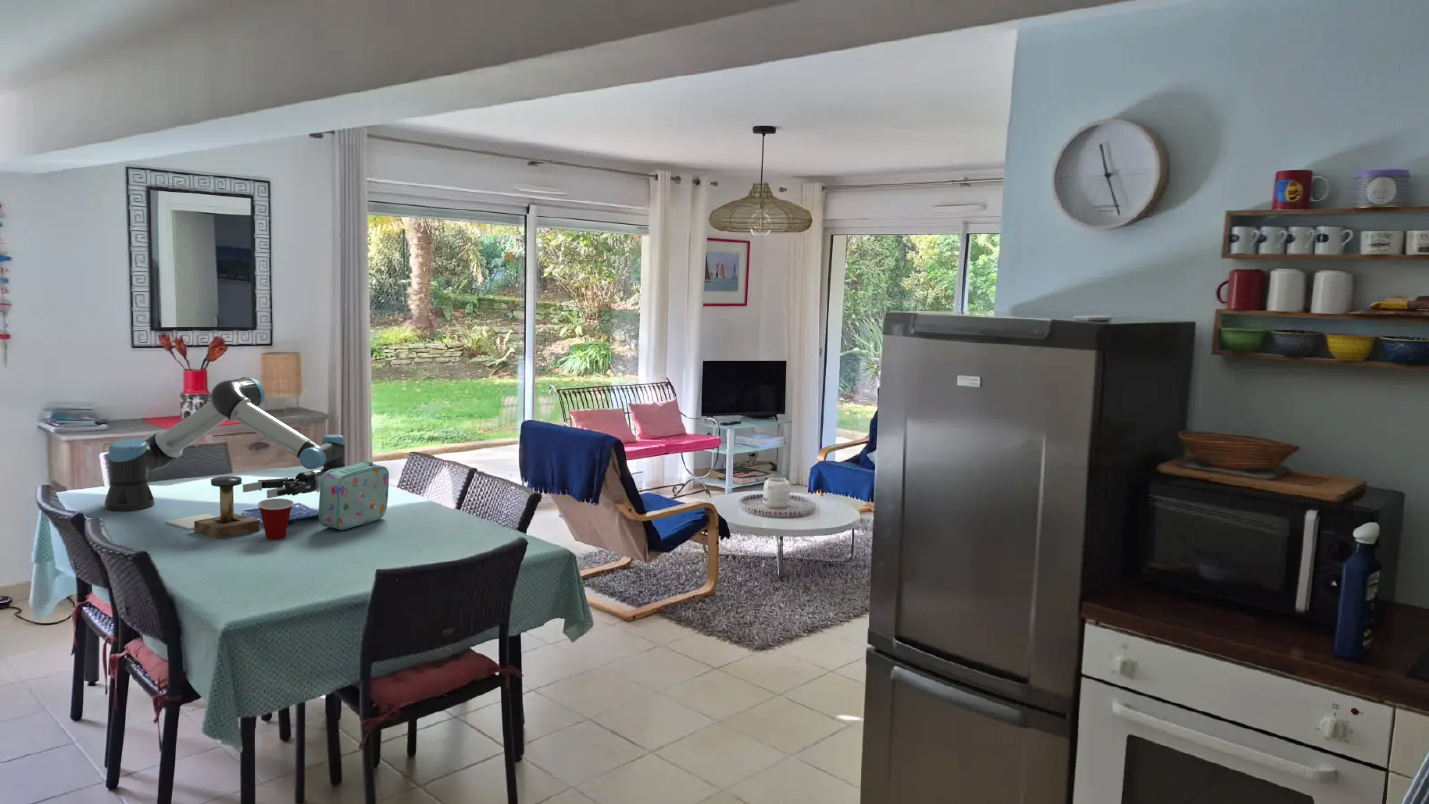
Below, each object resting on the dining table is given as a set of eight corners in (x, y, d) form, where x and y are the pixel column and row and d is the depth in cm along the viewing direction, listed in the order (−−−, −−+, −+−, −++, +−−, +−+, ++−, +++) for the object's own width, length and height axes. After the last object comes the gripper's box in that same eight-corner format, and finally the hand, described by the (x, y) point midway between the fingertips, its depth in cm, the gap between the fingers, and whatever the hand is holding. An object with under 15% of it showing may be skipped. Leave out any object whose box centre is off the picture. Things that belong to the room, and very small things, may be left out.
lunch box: (368, 513, 347) (368, 455, 345) (392, 517, 344) (392, 458, 341) (315, 530, 322) (314, 468, 320) (339, 534, 319) (339, 471, 316)
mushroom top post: (206, 531, 315) (205, 479, 313) (232, 526, 323) (231, 475, 321) (222, 536, 310) (221, 483, 308) (248, 530, 318) (247, 478, 316)
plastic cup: (260, 544, 304) (259, 507, 302) (255, 535, 313) (255, 500, 311) (296, 540, 309) (296, 504, 308) (291, 532, 318) (291, 497, 317)
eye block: (194, 531, 314) (194, 521, 314) (234, 523, 326) (234, 513, 326) (219, 539, 307) (218, 528, 307) (259, 530, 319) (259, 520, 318)
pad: (166, 522, 323) (165, 521, 323) (206, 515, 335) (206, 513, 335) (189, 530, 316) (189, 528, 316) (229, 522, 328) (229, 520, 328)
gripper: (333, 497, 335) (278, 507, 318) (289, 487, 348) (233, 496, 330) (333, 476, 335) (277, 485, 317) (289, 466, 348) (233, 475, 330)
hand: (255, 491), depth 323 cm, fingers open, 13 cm apart
